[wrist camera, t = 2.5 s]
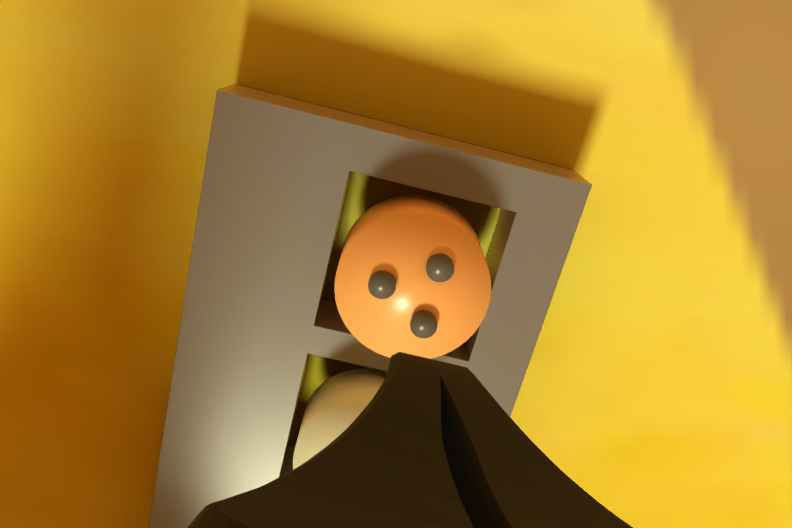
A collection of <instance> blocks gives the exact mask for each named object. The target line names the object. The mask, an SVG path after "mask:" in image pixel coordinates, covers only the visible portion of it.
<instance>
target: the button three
mask: <svg viewBox="0 0 792 528" xmlns="http://www.w3.org/2000/svg"><path fill="white" fill-rule="evenodd" d="M334 292H335V300H336V304H337V308H338V311H339V314H340V316H341V318H342V320H343V322H344V324H345V325H346V327H347V328H348V330H349V331H350V332H351V334H352V335H353V336H354V337H355V338H356V339H357V340H358V341H359V342H361V343H362V344H363V345H365V346H366V347H367V348H369V349H371V350H372V351H374V352H376V353H378V354H381V355H383V356H386V357H389V358H391V356H392V355H394V354H396V353H398V352H403V353H407V354H411V355H416V356H420V357H424V358H429V359H432V358H436V357H439V356H442V355H444V354H447V353H449V352H451V351H453V350H454V349H456V348H458V347H459V346H461V345H462V344H463V343H464V342H466V341H467V340H468V339H469V338H470V337H471V336H472V335H473V334H474V333H475V331H476V330H477V329H478V327H479V326H480V324H481V322H482V321H483V319H484V317H485V315H486V312H487V309H488V306H489V302H490V296H491V278H490V273H489V269H488V266H487V263H486V260H485V257H484V254H483V252H482V249H481V246H480V243H479V241H478V238H477V236H476V234H475V232H474V230H473V228H472V226H471V225H470V224H469V222H468V221H467V220H466V219H465V218H464V216H463V215H462V214H460V213H459V212H458V211H457V210H456V209H454V208H453V207H451V206H450V205H448V204H446V203H444V202H442V201H440V200H437V199H434V198H431V197H426V196H421V195H405V196H398V197H393V198H390V199H387V200H384V201H382V202H380V203H378V204H376V205H374V206H373V207H371V208H370V209H368V210H367V211H366V212H365V213H364V214H362V215H361V216H360V217H359V219H358V220H357V221H356V222H355V223H354V225H353V226H352V228H351V229H350V231H349V233H348V235H347V237H346V240H345V243H344V246H343V250H342V253H341V257H340V261H339V264H338V268H337V271H336V277H335V289H334Z"/></svg>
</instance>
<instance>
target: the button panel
mask: <svg viewBox="0 0 792 528" xmlns="http://www.w3.org/2000/svg"><path fill="white" fill-rule="evenodd" d="M351 171H352V172H356V173H360V174H364V175H368V176H372V177H376V178H380V179H384V180H388V181H392V182H396V183H400V184H405V185H409V186H413V187H417V188H421V189H425V190H429V191H433V192H437V193H441V194H445V195H449V196H453V197H457V198H461V199H465V200H469V201H473V202H477V203H481V204H485V205H489V206H493V207H497V208H501V212H500V215H499V218H498V222H497V225H496V228H495V231H494V235H493V238H492V241H491V244H490V247H489V251H488V254H487V257H486V263H487V266H488V269H489V273H490V278H491V296H490V302H489V306H488V309H487V312H486V315H485V317H484V319H483V321H482V322H481V324H480V326H479V327H478V329H477V330H476V331H475V333H474V334H473V335H472V336H471V337H470V338H469V339H468V340H467V341H466V342H464V343H463V344H462V345H461V346H459V347H458V348H456V349H454V350H453V351H451V352H449V353H447V354H444V355H442V356H439V357H436V358H432V359H433V360H437V361H442V362H446V363H450V364H455V365H459V366H463V367H467V368H468V369H469V370H470V371H471V372H472V373H473V374H474V375H475V376H476V378H477V379H478V380H479V381H480V382H481V383H482V385H483V386H484V387H485V388H486V389H487V391H488V392H489V393H490V394H491V395H492V397H493V398H494V399H495V400H496V401H497V403H498V404H499V405H500V406H501V407H502V409H503V410H504V411H505V412H506V413H507V414H508V416H509V417H510V416H511V413H512V410H513V407H514V404H515V401H516V399H517V396H518V393H519V390H520V387H521V384H522V382H523V379H524V376H525V373H526V370H527V367H528V365H529V362H530V359H531V356H532V353H533V350H534V348H535V345H536V342H537V339H538V336H539V333H540V331H541V328H542V325H543V322H544V319H545V316H546V314H547V311H548V308H549V305H550V302H551V299H552V297H553V294H554V291H555V288H556V285H557V282H558V280H559V277H560V274H561V271H562V268H563V265H564V263H565V260H566V257H567V254H568V251H569V248H570V246H571V243H572V240H573V237H574V234H575V231H576V229H577V226H578V223H579V220H580V217H581V214H582V212H583V209H584V206H585V203H586V200H587V197H588V195H589V192H590V189H591V186H592V185H591V184H590V183H589V182H588V181H586V180H585V179H584V178H583V177H581V176H580V175H579V174H578V173H577V172H575V171H574V170H571V169H567V168H563V167H559V166H555V165H551V164H548V163H544V162H540V161H536V160H532V159H528V158H524V157H520V156H516V155H512V154H508V153H504V152H500V151H497V150H493V149H489V148H485V147H481V146H477V145H473V144H469V143H465V142H461V141H457V140H453V139H449V138H445V137H442V136H438V135H434V134H430V133H426V132H422V131H418V130H414V129H410V128H406V127H402V126H398V125H394V124H391V123H387V122H383V121H379V120H375V119H371V118H367V117H363V116H359V115H355V114H351V113H347V112H343V111H340V110H336V109H332V108H328V107H324V106H320V105H316V104H312V103H308V102H304V101H300V100H296V99H292V98H288V97H285V96H281V95H277V94H273V93H269V92H265V91H261V90H257V89H253V88H249V87H245V86H241V85H237V84H235V85H231V86H228V87H225V88H222V89H218V90H217V95H216V101H215V107H214V114H213V120H212V126H211V133H210V139H209V146H208V152H207V158H206V165H205V171H204V177H203V184H202V190H201V197H200V203H199V209H198V216H197V222H196V228H195V235H194V241H193V247H192V254H191V260H190V267H189V273H188V279H187V286H186V292H185V298H184V305H183V311H182V317H181V324H180V330H179V337H178V343H177V349H176V356H175V362H174V368H173V375H172V381H171V387H170V394H169V400H168V407H167V413H166V419H165V426H164V432H163V438H162V445H161V451H160V457H159V464H158V470H157V477H156V483H155V489H154V496H153V502H152V508H151V515H150V521H149V528H187V527H188V526H189V525H190V524H191V523H192V521H193V520H194V519H195V518H196V516H197V515H198V514H199V513H200V512H201V511H202V510H203V508H204V507H205V506H207V505H209V504H211V503H213V502H217V501H220V500H224V499H226V498H229V497H232V496H235V495H238V494H241V493H244V492H247V491H250V490H253V489H256V488H258V487H261V486H263V485H266V484H267V483H269V482H271V481H273V480H275V479H277V478H279V477H281V476H282V475H284V474H286V473H288V472H290V471H292V470H293V456H294V450H295V446H292V445H288V443H289V439H290V435H291V430H292V426H293V422H294V417H295V413H296V409H297V404H298V400H299V396H300V391H301V387H302V383H303V378H304V374H305V370H306V365H307V361H308V357H309V354H313V355H317V356H322V357H326V358H330V359H335V360H339V361H344V362H348V363H352V364H357V365H361V366H365V367H370V368H374V369H379V370H383V371H387V370H388V366H389V362H390V359H391V358H389V357H386V356H383V355H381V354H378V353H376V352H374V351H372V350H371V349H369V348H367V347H366V346H365V345H363V344H362V343H361V342H359V341H358V340H357V339H356V338H355V337H354V336H353V335H352V334H351V332H350V331H349V330H348V328H347V327H346V325H345V324H344V322H343V320H342V318H341V316H340V314H339V311H338V308H337V304H336V302H331V301H327V300H323V299H322V296H323V292H324V287H325V283H326V278H327V274H328V270H329V265H330V261H331V257H332V252H333V248H334V244H335V239H336V235H337V231H338V226H339V222H340V218H341V213H342V209H343V205H344V200H345V196H346V192H347V187H348V183H349V179H350V174H351Z"/></svg>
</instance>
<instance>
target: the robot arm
mask: <svg viewBox="0 0 792 528" xmlns="http://www.w3.org/2000/svg"><path fill="white" fill-rule="evenodd" d="M187 528H633V527H631V526H630V525H628V524H627V523H625V522H624V521H623V520H621V519H620V518H618V517H617V516H616V515H614V514H613V513H612V512H610V511H609V510H608V509H606V508H605V507H604V506H602V505H601V504H600V503H599V502H597V501H596V500H595V499H594V498H593V497H591V496H590V495H589V494H588V493H587V492H585V491H584V490H583V489H582V488H581V487H579V486H578V485H577V484H576V483H575V482H574V481H572V480H571V479H570V478H569V477H568V476H567V475H566V474H564V473H563V472H562V471H561V470H560V469H559V468H558V467H557V466H556V465H555V464H554V463H553V462H552V461H551V460H550V459H549V458H548V457H547V456H546V455H545V454H544V453H543V452H542V451H541V450H540V449H539V448H538V447H537V446H536V445H535V444H534V443H533V442H532V441H531V440H530V439H529V438H528V437H527V436H526V435H525V434H524V432H523V431H522V430H521V429H520V428H519V427H518V426H517V425H516V424H515V422H514V421H513V420H512V419H511V418H510V417H509V416H508V414H507V413H506V412H505V411H504V410H503V409H502V407H501V406H500V405H499V404H498V403H497V401H496V400H495V399H494V398H493V397H492V395H491V394H490V393H489V392H488V391H487V389H486V388H485V387H484V386H483V385H482V383H481V382H480V381H479V380H478V379H477V378H476V376H475V375H474V374H473V373H472V372H471V371H470V370H469V369H468V368H467V367H463V366H459V365H455V364H450V363H446V362H442V361H437V360H433V359H429V358H424V357H420V356H416V355H411V354H407V353H403V352H398V353H396V354H394V355H392V356H391V359H390V362H389V366H388V370H387V373H386V377H385V380H384V382H383V383H382V385H381V387H380V388H379V390H378V391H377V393H376V394H375V396H374V397H373V399H372V400H371V401H370V403H369V404H368V405H367V406H366V407H365V409H364V410H363V411H362V412H361V413H360V415H359V416H358V417H357V418H356V419H355V420H354V421H353V423H352V424H351V425H350V426H349V427H348V428H347V429H346V430H345V431H344V432H343V433H341V434H340V435H339V436H338V437H337V438H336V439H335V440H334V441H332V442H331V443H330V444H329V445H328V446H327V447H325V448H324V449H323V450H321V451H320V452H318V453H317V454H316V455H314V456H313V457H312V458H310V459H309V460H308V461H306V462H305V463H303V464H302V465H300V466H299V467H297V468H295V469H294V470H292V471H290V472H288V473H286V474H284V475H282V476H281V477H279V478H277V479H275V480H273V481H271V482H269V483H267V484H266V485H263V486H261V487H258V488H256V489H253V490H250V491H247V492H244V493H241V494H238V495H235V496H232V497H229V498H226V499H224V500H220V501H217V502H213V503H211V504H209V505H207V506H205V507H204V508H203V510H202V511H201V512H200V513H199V514H198V515H197V516H196V518H195V519H194V520H193V521H192V523H191V524H190V525H189V526H188V527H187Z"/></svg>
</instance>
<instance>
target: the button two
mask: <svg viewBox="0 0 792 528" xmlns="http://www.w3.org/2000/svg"><path fill="white" fill-rule="evenodd" d="M386 373H387V371H383V370H379V369H374V368H359V369H352V370H348V371H344V372H341V373H339V374H337V375H335V376H332V377H331V378H329V379H328V380H326V381H325V382H324V383H322V384H321V385H320V386H319V387H318V388H317V389H316V390H315V391H314V393H313V394H312V396H311V397H310V399H309V401H308V403H307V405H306V409H305V412H304V416H303V419H302V423H301V427H300V431H299V435H298V439H297V443H296V446H295V450H294V456H293V470H294V469H295V468H297V467H299V466H300V465H302V464H303V463H305V462H306V461H308V460H309V459H310V458H312V457H313V456H314V455H316V454H317V453H318V452H320V451H321V450H323V449H324V448H325V447H327V446H328V445H329V444H330V443H331V442H332V441H334V440H335V439H336V438H337V437H338V436H339V435H340V434H341V433H343V432H344V431H345V430H346V429H347V428H348V427H349V426H350V425H351V424H352V423H353V421H354V420H355V419H356V418H357V417H358V416H359V415H360V413H361V412H362V411H363V410H364V409H365V407H366V406H367V405H368V404H369V403H370V401H371V400H372V399H373V397H374V396H375V394H376V393H377V391H378V390H379V388H380V387H381V385H382V383H383V382H384V380H385V377H386Z"/></svg>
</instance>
